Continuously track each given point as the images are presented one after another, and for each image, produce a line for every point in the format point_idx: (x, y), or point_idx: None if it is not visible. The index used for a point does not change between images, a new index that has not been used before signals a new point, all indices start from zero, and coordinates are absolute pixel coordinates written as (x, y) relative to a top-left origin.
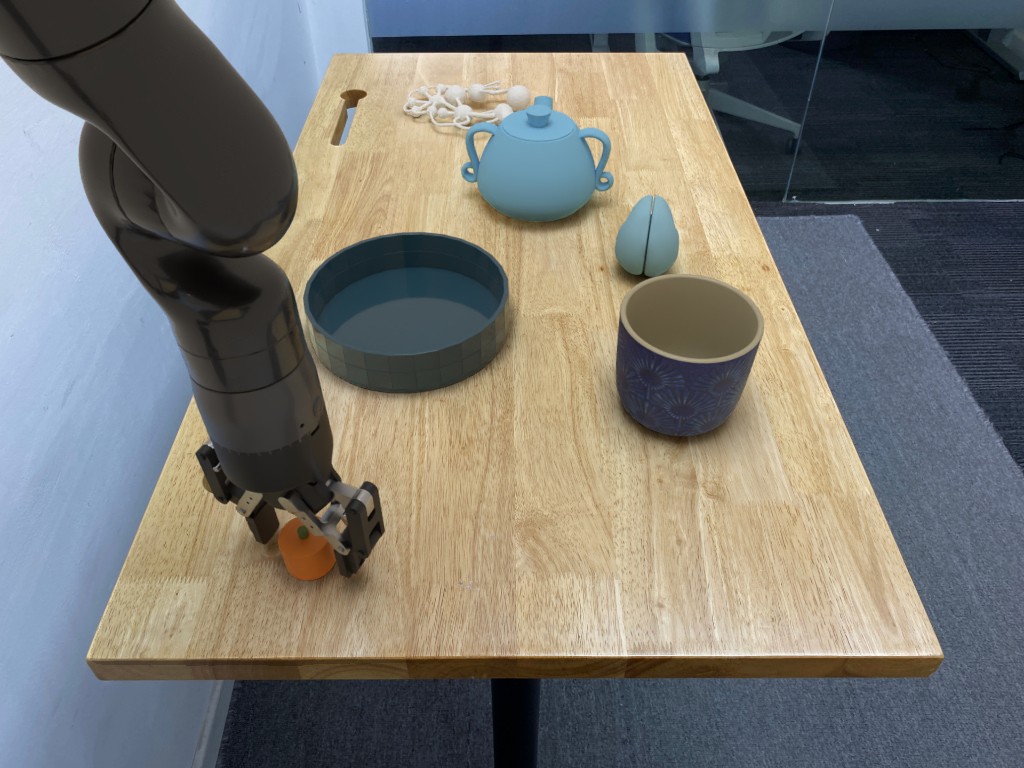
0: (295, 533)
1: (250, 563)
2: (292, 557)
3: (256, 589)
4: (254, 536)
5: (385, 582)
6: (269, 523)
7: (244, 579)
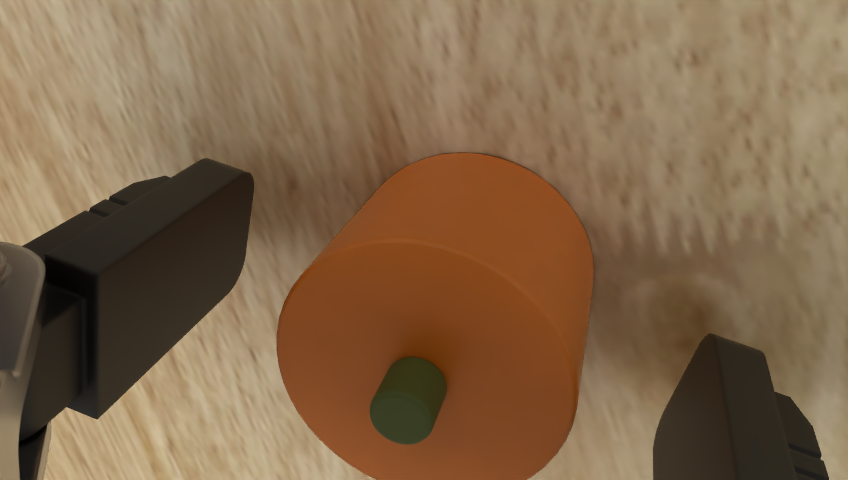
0: (472, 394)
1: (791, 233)
2: (437, 240)
3: (714, 79)
4: (768, 383)
5: (127, 168)
6: (682, 459)
7: (805, 135)
